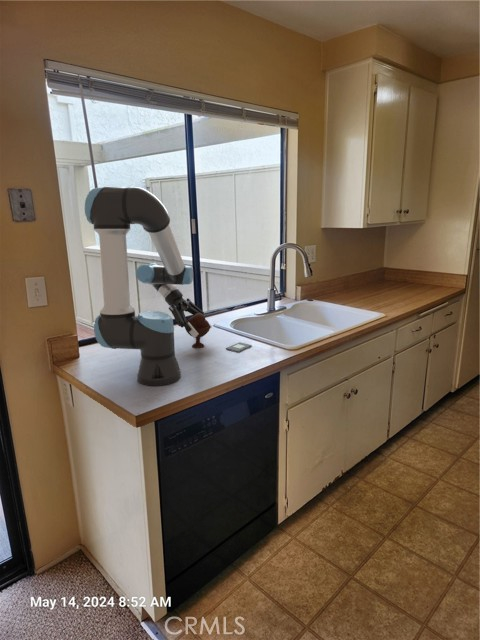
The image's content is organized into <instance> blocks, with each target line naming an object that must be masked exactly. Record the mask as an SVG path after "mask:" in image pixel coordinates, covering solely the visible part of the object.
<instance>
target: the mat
mask: <svg viewBox="0 0 480 640" xmlns="http://www.w3.org/2000/svg"><path fill="white" fill-rule="evenodd" d="M252 346H253V345H252V344H248V343H245V342H236V343H234V344H232V345H231V346H230V345H229V346H227V347H225V350H227V351H231V352H235V353H240V352H242V351H245V350H248V349H249V348H252Z"/></svg>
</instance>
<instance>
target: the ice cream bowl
mask: <svg viewBox="0 0 480 640" xmlns="http://www.w3.org/2000/svg"><path fill="white" fill-rule="evenodd" d="M186 320H187V323H188V322H189V323H190V324H191V325H192V326H193V328H194V329H195V330H196V331H197V332H198V333H199V334H198V335H197V336H196V337H195V338H194V339H195V343H193V344H191V347H192V348H193V349H202V348H204V347H205V344H204V343H202V342H201V338H203V337H204V336H206V335H207V334H208V333H209V332H210V330H211V328H210V326H212V325H211V324H210V323H209V321H208V320H207V319H206V317H205V314H204V315H203V314H201V312H200V313H196V314H195V315H191V316H190V317H189V318H187V319H186ZM184 329H185V331H186V333H187V334H188V335H190V336H191V337H192V338H193V336H192V335H191V334H190V333H189V332H188V331H187V330H186V328H185V327H184Z"/></svg>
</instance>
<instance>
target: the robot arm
mask: <svg viewBox="0 0 480 640" xmlns="http://www.w3.org/2000/svg"><path fill="white" fill-rule="evenodd" d="M84 216H85V217H86V220H87V222H88V223H89V224H91V225H93V231H95V232H96V234H98V236H99V237H98V238H99V251H100V265H101V266H100V267H101V280H102V295H103V296H102V297H103V307H102V308H101V309H100V310H99V315H97V316H96V318H95V319H94V325H93V332H94V336H95V340H96V341H97V343H98V344H99V345H100V346H101V347H103V348H107V349H111V350H112V349H113V350H117V349H119V350H121V349H123V350H140V356H141V357H140V363H139V365H138V366H139V367H138V369H137V374H136V375H137V381H138V382H139V384H142V385H145V386H150V387H151V386H152V387H159V386H166V385H171V384H174V383H176V382H177V381H178V380H180V379H181V376H182V370H181V368H180V366H179V365H180V364H179V362H178V360H177V358H176V352H175V351H176V350H175V327H174V320H175V322H176V324H177V325H178V327H180V328H184V329H185V328H186V329H185V331H186V330H187V331H188V332H189V333H190V334H191V335H192V336H193V337H192V336H191V337H192V338H193V339H196V338H195V337H196V336H197V335H198V334H199V333H198V332H197V331H196V330H195V329H194V328H193V326H192V325H191V324H190V323H189V322H188V323H187V320H188V319H187V317H186V314H185V312H188V313H189V314H191V316H194V315H195V314H196V313H201V314H203V315H204V316H205V312H204V311H203V310H202V309H201V308H199V307H198V306H197V305H196V304H194V303H193V302H192V301H191V299H190V298H186V299H184V298H183V297H184V294H183V293H182V292H181V291H180V289H178V287H177V285H181V286H182V285H191V284H192V283H193V280H194V270H193V267H192V266H190V265H186V264H184V263H185V262H184V261H183V259H182V256H181V252H180V251H179V248H178V245H177V242H176V240H175V236H174V234H173V232H172V228H171V226H170V224H171V218H170V215H169V212H168V210H167V209H166V207H165V205H164V203H162V201H160V200H159V199H158V198H157V196H155V194H153V193H151V192H149V190H147V189H145V188H142V187H139V186H102V187H94V188H92V189H91V190H89V192H88V194H87V195H86V198H85V201H84ZM131 225H140V226H142V229H143V230H144V231H145V232H147V233H148V234H149V237H150V239H151V241H152V243H153V245H154V247H155V249H156V252H157V253H158V256H159V258H160V260H161V262H162V264H163V265H158V264H157V262H152V263H149V264H148V263H143V264H141V265H139V266H138V267H136V268H137V269H136V270H135V275H136V276H135V277H136V278H137V280H138V281H139V282H140V283H142V284H147V285H151V286H152V287H153V288H154V289H155V290H156V292H157V293H158V294H159V295H160V296H161V297H162V298H163V299H164V301H165V302H166V303H167V305H168V306H169V307H168V310H169V311H170V312H171V314H172V316H173V318H174V319H173V318H172V316H171V315H169V314H168V313H167V312H162V311H158V310H157V311H156V310H149V311H148V310H146V311H145V310H144V311H141V312H139V313H138V315H136V310H135V308H134V307H132V305H131V299H130V281H129V264H128V249H127V248H128V247H127V246H128V245H127V235H128V233H130V231H131ZM212 327H213V326H212V325H211V326H210V329H211V328H212ZM187 331H186V332H187Z"/></svg>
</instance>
